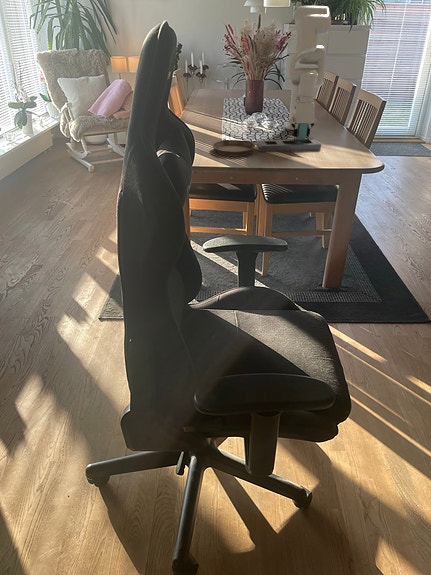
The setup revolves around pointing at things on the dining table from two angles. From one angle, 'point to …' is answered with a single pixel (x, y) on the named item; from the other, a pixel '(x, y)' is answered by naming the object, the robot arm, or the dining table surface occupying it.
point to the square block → (302, 131)
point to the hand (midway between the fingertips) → (301, 136)
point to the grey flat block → (288, 145)
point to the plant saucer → (233, 147)
